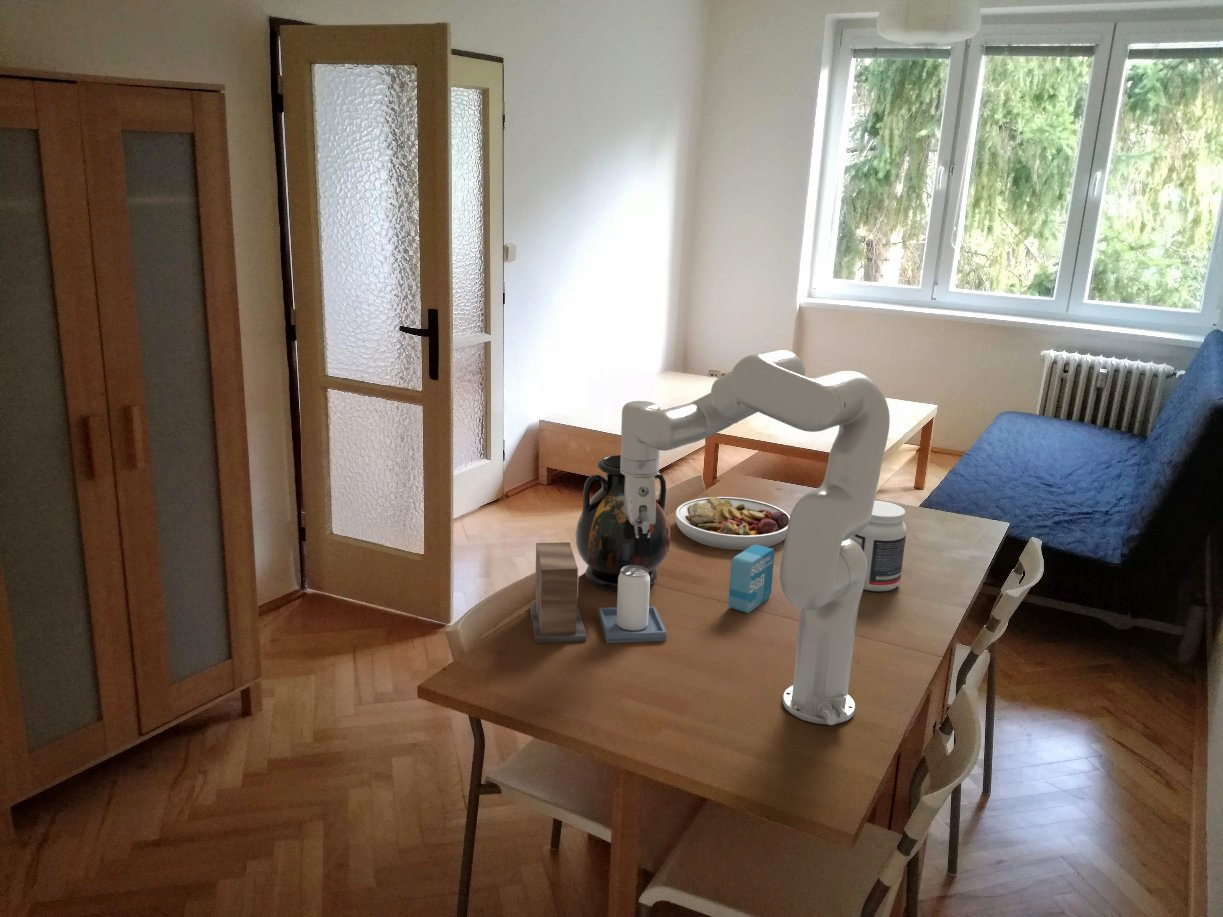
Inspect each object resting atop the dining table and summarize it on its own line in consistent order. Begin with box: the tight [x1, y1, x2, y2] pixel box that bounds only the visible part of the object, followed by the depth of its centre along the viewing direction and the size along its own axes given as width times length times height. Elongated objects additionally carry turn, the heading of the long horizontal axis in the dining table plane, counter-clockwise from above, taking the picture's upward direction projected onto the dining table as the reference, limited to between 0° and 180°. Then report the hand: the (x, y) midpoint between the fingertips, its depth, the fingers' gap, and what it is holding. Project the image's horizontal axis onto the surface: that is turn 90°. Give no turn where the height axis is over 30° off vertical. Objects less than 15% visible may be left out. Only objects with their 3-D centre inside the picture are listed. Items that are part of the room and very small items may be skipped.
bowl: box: [675, 496, 790, 551], centre depth 257 cm, size 30×30×8 cm
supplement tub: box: [849, 500, 908, 592], centre depth 227 cm, size 13×13×18 cm
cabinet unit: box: [529, 541, 587, 644], centre depth 201 cm, size 16×10×15 cm, turn 9°
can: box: [616, 565, 651, 631], centre depth 200 cm, size 6×6×12 cm
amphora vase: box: [575, 454, 672, 592], centre depth 222 cm, size 22×22×28 cm
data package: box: [727, 544, 775, 614], centre depth 214 cm, size 12×4×12 cm, turn 145°
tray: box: [598, 605, 668, 644], centre depth 202 cm, size 12×12×2 cm
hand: (636, 547), depth 197 cm, fingers open, 9 cm apart
